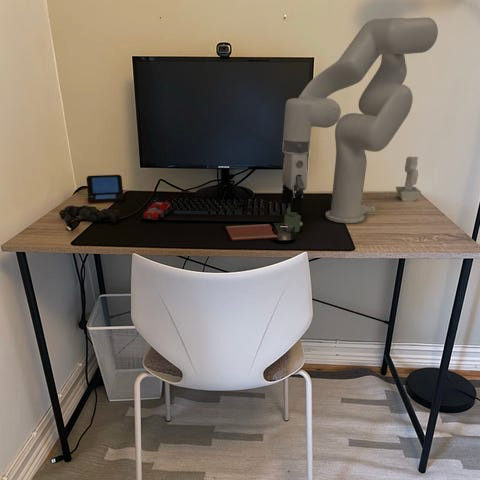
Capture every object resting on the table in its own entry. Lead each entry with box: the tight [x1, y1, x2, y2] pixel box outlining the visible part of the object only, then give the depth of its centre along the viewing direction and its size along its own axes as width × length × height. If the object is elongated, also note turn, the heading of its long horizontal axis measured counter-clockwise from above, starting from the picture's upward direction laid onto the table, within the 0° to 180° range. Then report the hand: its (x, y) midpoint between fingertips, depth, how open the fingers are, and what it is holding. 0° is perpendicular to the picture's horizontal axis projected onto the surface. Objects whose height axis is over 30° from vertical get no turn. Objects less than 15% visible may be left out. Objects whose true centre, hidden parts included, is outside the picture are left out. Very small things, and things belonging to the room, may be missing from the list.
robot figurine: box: [58, 204, 122, 227], centre depth 154 cm, size 18×4×20 cm
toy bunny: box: [283, 205, 303, 233], centre depth 146 cm, size 6×5×9 cm
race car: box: [143, 201, 172, 221], centre depth 159 cm, size 13×5×4 cm, turn 161°
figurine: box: [395, 156, 422, 202], centre depth 176 cm, size 7×9×15 cm
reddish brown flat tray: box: [225, 223, 280, 241], centre depth 146 cm, size 14×12×1 cm
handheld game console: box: [86, 174, 125, 204], centre depth 175 cm, size 12×11×7 cm
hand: (291, 207), depth 144 cm, fingers open, 9 cm apart
